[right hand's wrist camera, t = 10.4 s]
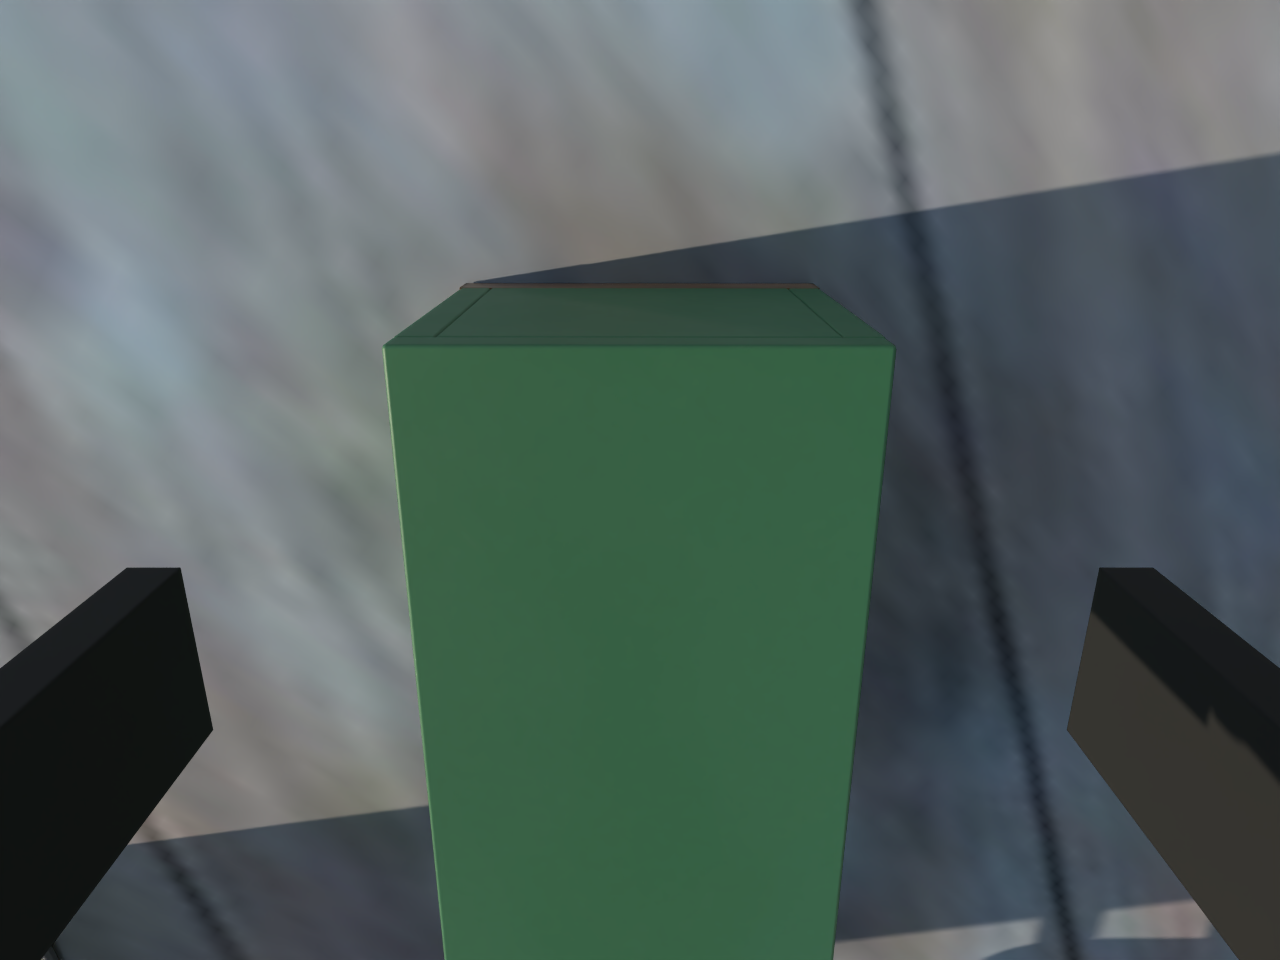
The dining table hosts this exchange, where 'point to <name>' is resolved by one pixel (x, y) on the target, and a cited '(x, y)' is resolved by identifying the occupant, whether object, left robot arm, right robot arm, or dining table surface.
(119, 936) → the dining table surface
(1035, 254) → the dining table surface
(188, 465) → the dining table surface
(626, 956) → the cabinet
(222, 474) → the dining table surface
